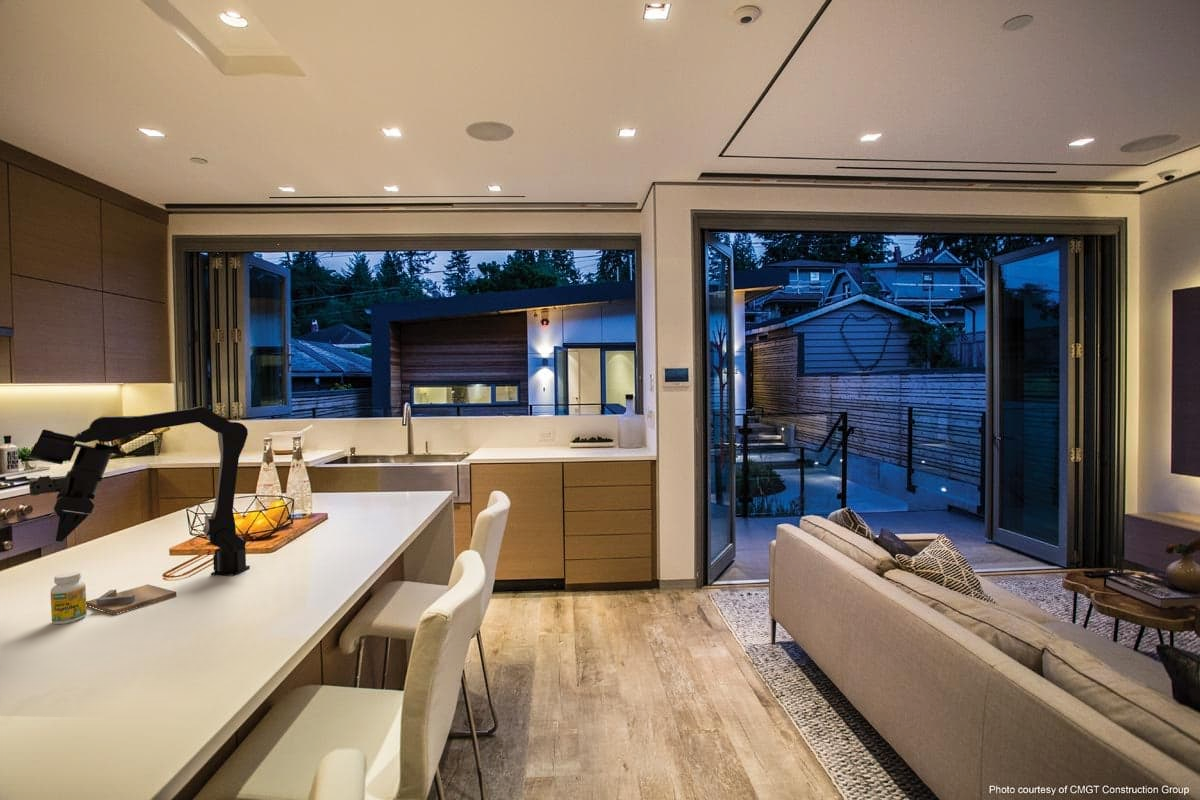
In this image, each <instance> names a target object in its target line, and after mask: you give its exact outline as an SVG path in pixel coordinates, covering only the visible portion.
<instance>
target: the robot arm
mask: <svg viewBox="0 0 1200 800" xmlns="http://www.w3.org/2000/svg"><path fill="white" fill-rule="evenodd" d="M196 423H199V424H201V425H203V426H204V427H207V428H208V429H210V430H211V431H213V432H216V433H217V441H218V448H219V453H220V454H219V455H220V458H219V459H220V460H219V461H220V462H219V468H218V476H217V484H216V491H215V500H214V501H215V502H214V508H213V511H212V512H211V515H204V527H203V528H202V532H203V533H204V534H205V537H206V539H208V541H209V542H210V543H211V544H212V545H213V546H215V547H217V548H216V549H214V555H212V556H213V557H212V558H213V571H212V572H210V575H211V576H235V575H239V574H240V573H241V572H244V571H246V570H248V569H250V568H251V566H250V565H247V555H246V554H247V553H246V550H247V549H246V544H247V542H246V540H244V538H243V537H241V536H240V534H237V530H236V521H235V515H234V504H235V503H234V502H235V494H236V485H237V476H238V467H239V460H240V455H241V453H242V452H243V449H244V447H245V445H246V441H247V438H248V435H249V432H248V428H247V427H246V426H245V425H244V424H243V423H242V422H236V421H232V420H231V421H229V420H228V419H227V418H225V417H222V416H221V415H220V414H217V413H215V412H213V411H212V410H210V409H209V408H208V407H206V406H196V407H195V406H194V407H192V408H185V409H179V410H172V411H166V412H160V413H153V414H145V415H129V416H128V415H127V416H126V415H123V416H122V415H115V416H114V415H113V416H111V415H107V416H100V417H99V416H98V417H97V418H95V419H93V421H91V423H90V424H89V427H88V428H87V429H85V430H83V431H81V432H77V434H75V435H69V434H64V433H60V432H55V431H54V430H50V429H46V428H44V429H42V431H41V433H40V435H39V437H38V438H37V441H36V442H35V443H34V445H33V447H32V449H31V451H30V453H29V456H28V460H34V461H39V462H46V463H51V464H57V465H63V463H64V462H71V460H72V458H73V456H74V453H76V452H75V451H76V449H77V448H79V450H78V452H77V453H76V456H75V458H74V461H73V463H72V466H71V468H70V470H67V473H66V474H65V475H63V476H59V475H58V476H50V475H45V476H41V475H40V476H38V478H37V477H36V478H30V479H29V481H28V483H29V486H28V487H29V496H40V494H41V495H42V494H51V493H57V495H56V496H55V503H54V505H53V511H54V513H56V515H57V517H59V518H58V523H57V524H58V525H57V531H56V536H55V542H59V543H61V542H63V541H64V540H65V539H67V537H69V535H70V534H72V532H74V531H75V529H77V528H78V527H79V525H80V524H82V523H83V522H84V521H85V520H86V519H87V518H88V517H90V515H91V514H92V512H93V510H94V508H95V502H94V501H93V500H94V499H95V497H96V492H97V490H98V487H99V486H100V483H101V482H102V480H103V477H104V473H105V471H106V468H107V467H108V464H109V462H110V459H111V456H112V455H118V456H123V454H124V453H123V451H122V450H121V448H120V446H119V443H114V444H112V445H110V444H104V443H107V442H113V441H116V440H120V439H124V438H126V437H129V436H131V435H134V434H138V433H141V432H145V431H146V432H147V431H151V430H158V429H165V428H169V427H176V426H183V425H189V424H196ZM94 441H98V442H99V443H98V442H95V444H94V446H92V445H87V444H86V443H90V442H94ZM76 442H77V443H76ZM78 442H79V443H78ZM100 442H103V443H100ZM82 443H84V444H82Z"/></svg>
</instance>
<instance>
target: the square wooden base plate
mask: <svg viewBox="0 0 1200 800" xmlns="http://www.w3.org/2000/svg"><path fill="white" fill-rule="evenodd" d="M174 596H175V597H177V591H175V590H170V589H167V588H163V587H159V586H155V585H151V584H144V585H140V586H137V587H134V588H130V589H126V590H123V591H119V592H117V589H110V590H108V591H107V592H105V593H104V594H103V595H101V596H99V597H98V598H95V599H90V600H86V605H87V606H91V607H94V608H97V609H100V610H103V611H105V612H104V613H106V612H109V613H112V614H116V615H118V614H117V613H119V614H121V613H120V612H123V611H126V612H128V611H127V610H129V611H131V610H130V609H132V610H134V609H133V608H136V607H139V608H141V607H140V606H142V607H145V606H148V605H147V604H149V605H151V604H150V603H152V604H155V603H158V602H161V600H162V601H164V600H168V599H172V598H174ZM171 597H172V598H171ZM154 602H155V603H154ZM144 605H145V606H144ZM87 606H86V607H87ZM136 609H137V608H136ZM100 610H99V611H100ZM103 611H102V612H103ZM109 613H108V614H109ZM123 613H124V612H123ZM112 614H111V615H112Z"/></svg>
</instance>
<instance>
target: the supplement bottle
mask: <svg viewBox="0 0 1200 800" xmlns="http://www.w3.org/2000/svg"><path fill="white" fill-rule="evenodd" d="M81 578H82V575H81V572H80V571H69V572H64V573H60V574H57V575H55V576H54V580H53V581H54V584H55V585H54V586H52V588H51V589H50V609H51V610H50V611H51V622H52V623H53V625H63V624H65V623H66V624H70V622H71V623H73V621H74V622H77V621H76V620H78V621H80V620H82V619H84V618H85V617H86V616H87V614H88V613H87V612H88V611H87V610H88V609H87V606H86V601H87V591H86V583H85V582H84V581H83V580H81ZM83 617H84V618H83ZM81 618H82V619H81ZM79 619H80V620H79ZM66 624H65V625H66Z"/></svg>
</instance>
